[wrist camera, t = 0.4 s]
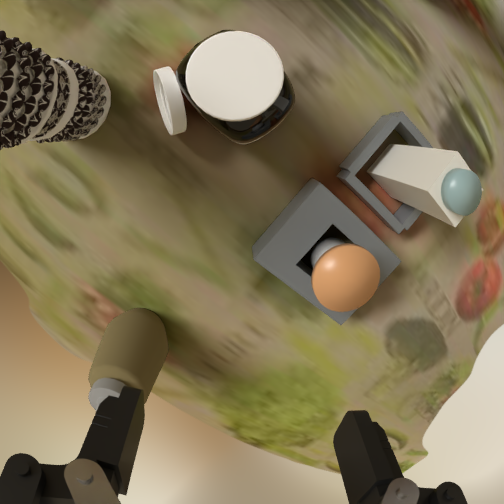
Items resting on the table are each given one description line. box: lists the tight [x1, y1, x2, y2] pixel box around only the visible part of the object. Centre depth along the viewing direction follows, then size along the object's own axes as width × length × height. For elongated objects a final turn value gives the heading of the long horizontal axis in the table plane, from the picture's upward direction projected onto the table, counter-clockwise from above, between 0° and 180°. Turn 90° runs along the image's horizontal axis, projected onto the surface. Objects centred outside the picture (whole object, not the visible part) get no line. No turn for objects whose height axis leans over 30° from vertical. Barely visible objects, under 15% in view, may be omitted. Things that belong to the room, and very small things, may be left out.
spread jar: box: [153, 30, 295, 144], centre depth 25 cm, size 12×11×12 cm
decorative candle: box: [0, 31, 111, 150], centre depth 18 cm, size 9×9×25 cm
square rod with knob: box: [366, 144, 483, 227], centre depth 27 cm, size 4×4×14 cm
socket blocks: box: [252, 112, 433, 325], centre depth 33 cm, size 22×13×4 cm, turn 141°
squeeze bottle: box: [89, 308, 169, 411], centre depth 31 cm, size 8×8×18 cm
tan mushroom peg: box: [311, 237, 380, 312], centre depth 31 cm, size 6×6×6 cm
